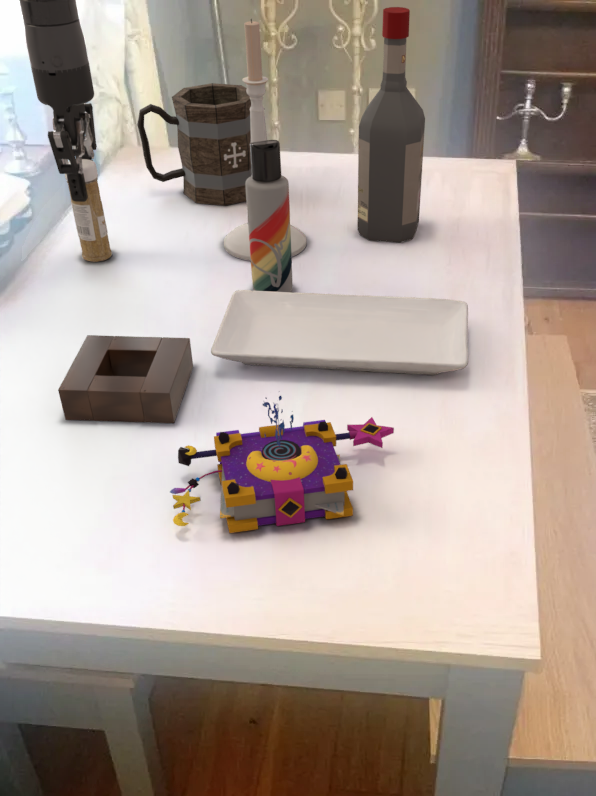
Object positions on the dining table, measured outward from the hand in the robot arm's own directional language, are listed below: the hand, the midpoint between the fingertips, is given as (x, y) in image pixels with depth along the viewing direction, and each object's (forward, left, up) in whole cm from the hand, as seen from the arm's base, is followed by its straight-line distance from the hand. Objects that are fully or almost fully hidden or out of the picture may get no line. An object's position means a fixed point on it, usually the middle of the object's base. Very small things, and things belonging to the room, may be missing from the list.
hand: (84, 193), depth 130 cm
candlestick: (+25, +6, -10) cm, 27 cm away
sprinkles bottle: (0, 0, -10) cm, 10 cm away
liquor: (+44, +12, -10) cm, 47 cm away
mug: (+12, +27, -10) cm, 31 cm away
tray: (+39, -26, -10) cm, 48 cm away
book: (+35, -56, -10) cm, 67 cm away
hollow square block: (+14, -38, -9) cm, 42 cm away
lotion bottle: (+28, -10, -10) cm, 31 cm away
